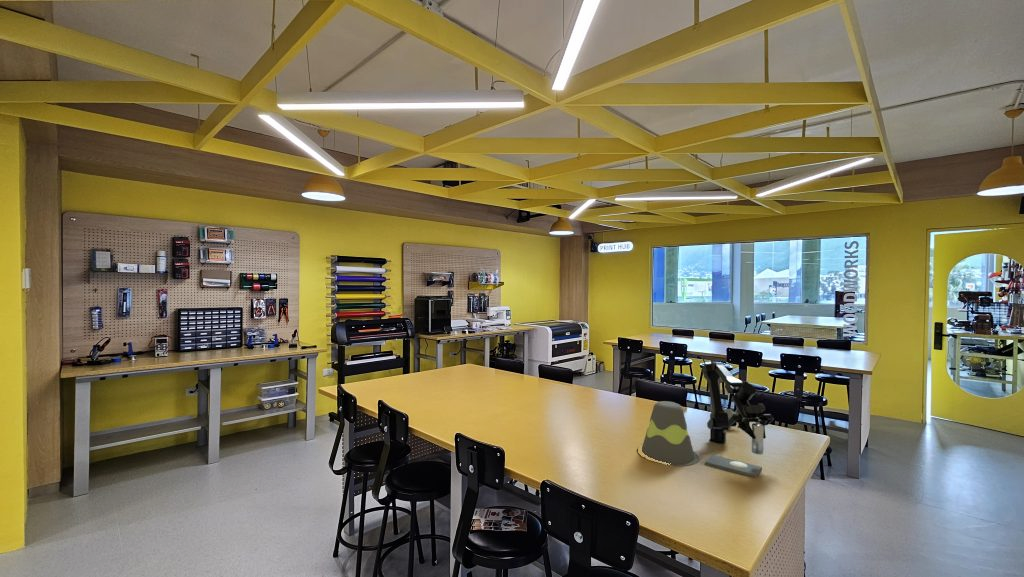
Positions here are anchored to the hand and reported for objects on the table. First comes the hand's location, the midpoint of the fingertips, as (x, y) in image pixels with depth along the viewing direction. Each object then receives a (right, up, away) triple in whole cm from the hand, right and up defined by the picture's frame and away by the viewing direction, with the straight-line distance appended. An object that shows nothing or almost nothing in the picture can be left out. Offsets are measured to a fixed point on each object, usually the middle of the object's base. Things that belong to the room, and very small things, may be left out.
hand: (759, 438), depth 183 cm
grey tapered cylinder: (-34, -14, +17) cm, 40 cm away
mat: (-10, -13, +3) cm, 17 cm away
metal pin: (0, -7, +1) cm, 7 cm away
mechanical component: (+16, -14, +57) cm, 61 cm away
